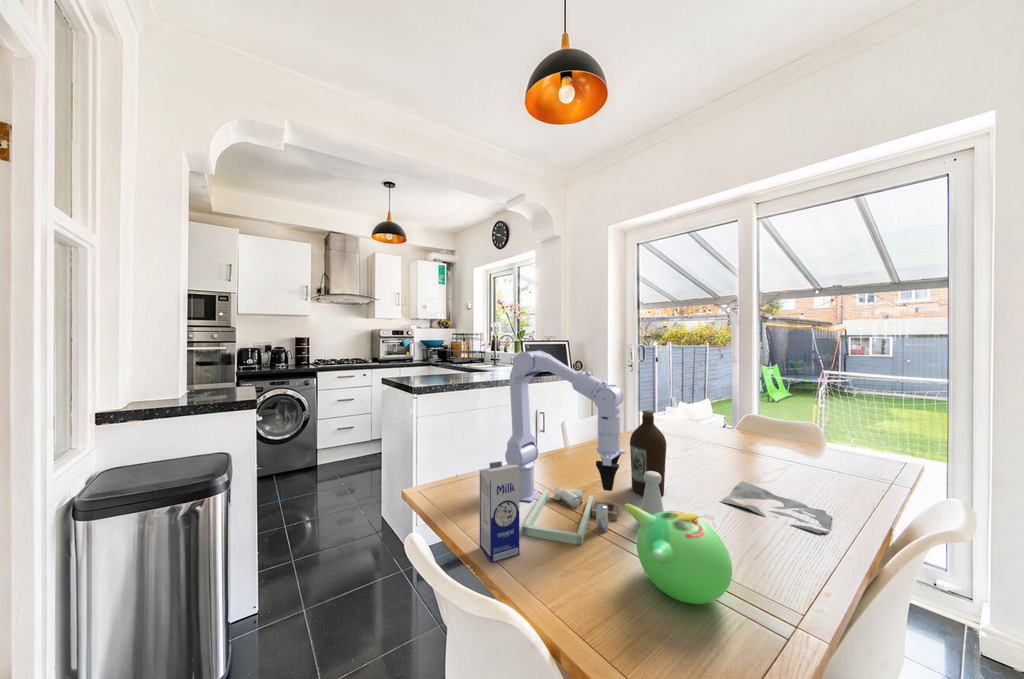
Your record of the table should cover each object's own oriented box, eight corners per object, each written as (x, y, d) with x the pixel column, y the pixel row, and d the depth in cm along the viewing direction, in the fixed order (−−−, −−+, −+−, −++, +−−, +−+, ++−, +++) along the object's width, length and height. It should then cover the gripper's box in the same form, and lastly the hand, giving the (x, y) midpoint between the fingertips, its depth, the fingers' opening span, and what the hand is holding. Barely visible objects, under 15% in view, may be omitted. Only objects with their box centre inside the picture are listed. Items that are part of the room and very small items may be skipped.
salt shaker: (664, 519, 101) (664, 470, 100) (665, 529, 95) (665, 477, 95) (640, 515, 102) (640, 467, 102) (640, 525, 97) (640, 475, 97)
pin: (595, 531, 94) (595, 507, 94) (597, 526, 97) (597, 502, 97) (607, 533, 93) (607, 509, 93) (608, 528, 96) (608, 504, 96)
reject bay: (522, 534, 93) (522, 526, 93) (545, 495, 115) (545, 489, 115) (581, 545, 88) (581, 536, 88) (593, 502, 110) (593, 495, 110)
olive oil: (648, 482, 125) (649, 406, 125) (674, 495, 115) (674, 413, 115) (622, 488, 121) (622, 409, 120) (646, 501, 111) (646, 416, 111)
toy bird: (753, 622, 65) (754, 536, 64) (657, 628, 63) (657, 541, 63) (694, 559, 83) (694, 492, 82) (618, 563, 81) (618, 495, 81)
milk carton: (491, 563, 81) (490, 470, 81) (478, 547, 87) (478, 461, 87) (520, 554, 84) (520, 465, 84) (506, 540, 90) (506, 456, 90)
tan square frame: (592, 517, 102) (592, 510, 102) (594, 506, 108) (594, 500, 108) (616, 521, 100) (616, 514, 100) (618, 510, 106) (618, 503, 106)
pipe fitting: (581, 511, 106) (582, 499, 113) (581, 498, 106) (582, 486, 113) (553, 508, 108) (555, 497, 115) (553, 495, 108) (555, 484, 114)
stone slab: (841, 522, 101) (842, 514, 101) (824, 544, 92) (825, 535, 91) (741, 487, 121) (742, 480, 120) (719, 502, 111) (719, 495, 111)
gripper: (624, 441, 91) (623, 497, 91) (625, 427, 105) (625, 476, 105) (593, 438, 93) (593, 493, 93) (599, 425, 107) (599, 473, 107)
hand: (608, 484), depth 99 cm, fingers open, 7 cm apart
